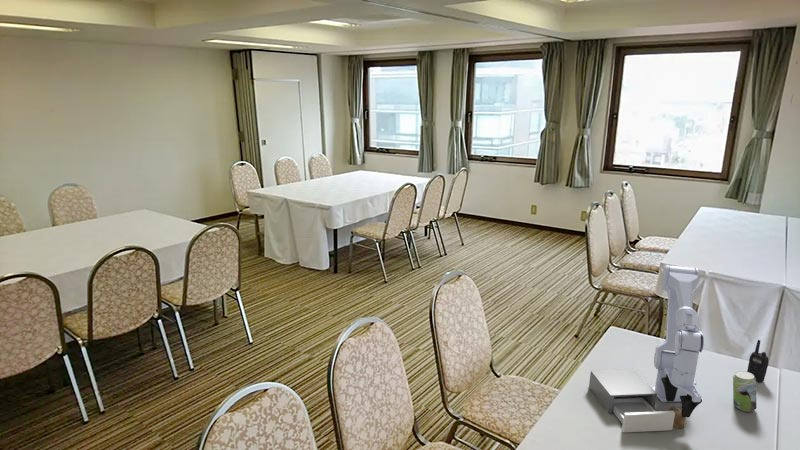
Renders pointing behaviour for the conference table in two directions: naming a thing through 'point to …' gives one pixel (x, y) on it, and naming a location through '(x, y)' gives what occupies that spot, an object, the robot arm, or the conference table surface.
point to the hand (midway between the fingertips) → (677, 408)
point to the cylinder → (677, 418)
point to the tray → (641, 415)
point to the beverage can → (744, 391)
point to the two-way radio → (758, 364)
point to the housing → (619, 386)
